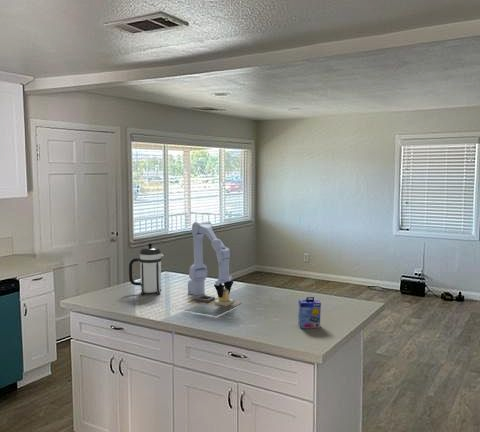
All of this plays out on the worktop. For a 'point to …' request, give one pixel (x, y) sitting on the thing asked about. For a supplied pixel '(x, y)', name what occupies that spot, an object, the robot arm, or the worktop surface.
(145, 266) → the coffee press
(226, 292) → the plug
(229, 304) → the pale green square frame
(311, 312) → the ink cartridge box
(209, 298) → the grey square frame
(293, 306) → the worktop surface
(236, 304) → the switch board
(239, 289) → the worktop surface
